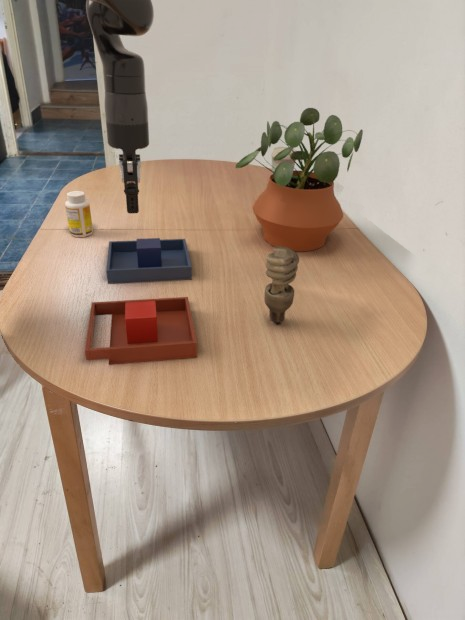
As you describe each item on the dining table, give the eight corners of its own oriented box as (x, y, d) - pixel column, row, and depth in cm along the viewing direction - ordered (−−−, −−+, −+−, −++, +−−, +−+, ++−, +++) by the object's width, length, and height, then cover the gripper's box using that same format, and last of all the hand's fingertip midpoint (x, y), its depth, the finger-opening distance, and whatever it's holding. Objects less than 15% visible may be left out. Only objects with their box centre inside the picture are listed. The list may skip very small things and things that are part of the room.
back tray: (107, 283, 92) (106, 270, 91) (110, 253, 104) (109, 241, 102) (191, 279, 95) (191, 266, 94) (185, 250, 107) (185, 238, 105)
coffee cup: (264, 188, 149) (267, 150, 143) (272, 181, 156) (276, 145, 149) (289, 192, 147) (293, 154, 140) (296, 185, 153) (301, 148, 147)
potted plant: (355, 255, 109) (383, 122, 93) (242, 264, 102) (251, 123, 86) (317, 219, 127) (335, 104, 111) (219, 225, 121) (223, 103, 104)
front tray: (87, 366, 71) (84, 351, 69) (93, 316, 82) (91, 302, 81) (197, 357, 74) (197, 342, 72) (188, 310, 85) (187, 296, 84)
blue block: (138, 269, 97) (136, 248, 94) (138, 259, 101) (136, 238, 98) (161, 268, 98) (160, 247, 95) (160, 258, 102) (159, 237, 99)
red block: (127, 343, 75) (124, 318, 72) (127, 326, 79) (125, 302, 77) (157, 341, 76) (156, 316, 73) (156, 324, 80) (155, 300, 77)
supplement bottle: (90, 227, 116) (85, 188, 110) (95, 236, 112) (90, 195, 106) (68, 230, 114) (61, 190, 108) (71, 239, 109) (65, 198, 104)
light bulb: (282, 335, 80) (292, 258, 72) (254, 325, 82) (261, 250, 74) (295, 320, 84) (305, 246, 76) (268, 311, 86) (276, 238, 78)
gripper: (150, 127, 77) (153, 218, 86) (146, 111, 88) (149, 193, 97) (104, 126, 75) (112, 218, 84) (106, 110, 87) (113, 193, 96)
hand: (132, 204), depth 91 cm, fingers open, 8 cm apart
